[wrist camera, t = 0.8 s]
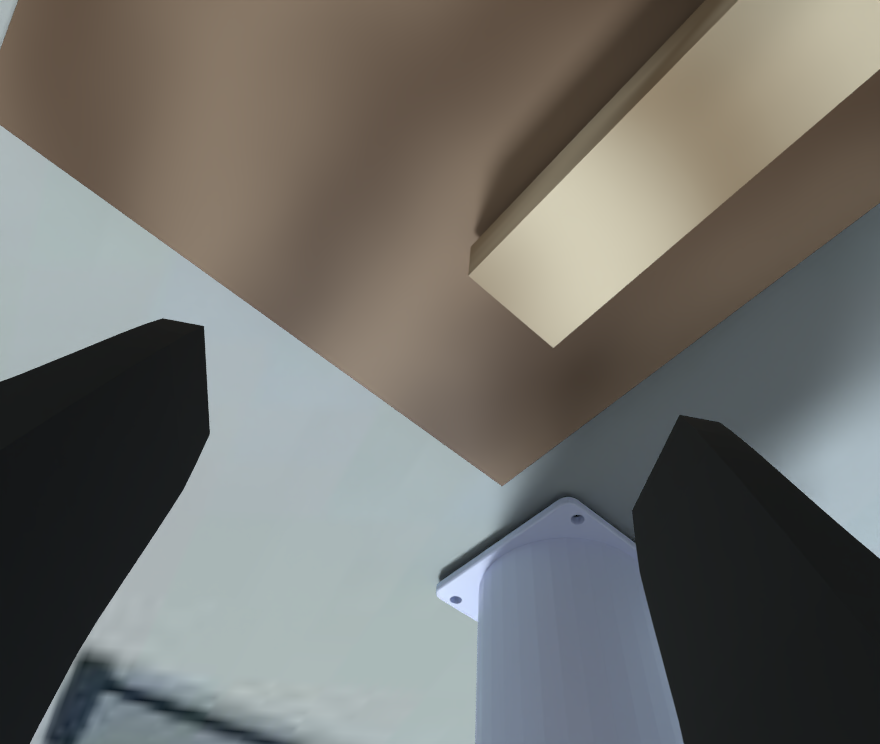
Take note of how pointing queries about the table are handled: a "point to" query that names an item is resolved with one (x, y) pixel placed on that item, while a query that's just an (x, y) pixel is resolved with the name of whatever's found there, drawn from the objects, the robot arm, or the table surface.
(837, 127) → the walnut board
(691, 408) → the table surface
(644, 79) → the pivot link
